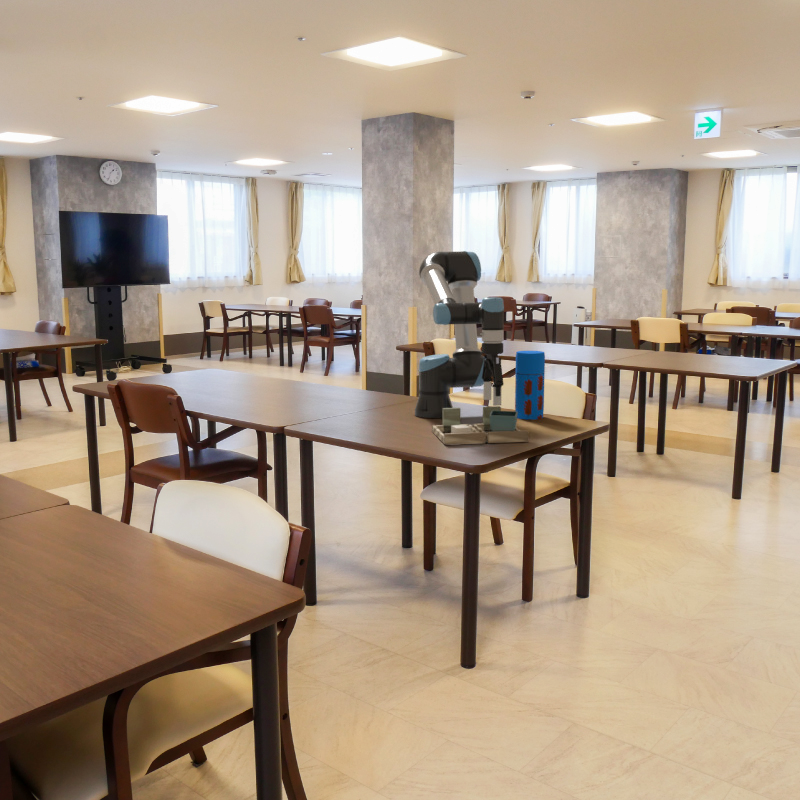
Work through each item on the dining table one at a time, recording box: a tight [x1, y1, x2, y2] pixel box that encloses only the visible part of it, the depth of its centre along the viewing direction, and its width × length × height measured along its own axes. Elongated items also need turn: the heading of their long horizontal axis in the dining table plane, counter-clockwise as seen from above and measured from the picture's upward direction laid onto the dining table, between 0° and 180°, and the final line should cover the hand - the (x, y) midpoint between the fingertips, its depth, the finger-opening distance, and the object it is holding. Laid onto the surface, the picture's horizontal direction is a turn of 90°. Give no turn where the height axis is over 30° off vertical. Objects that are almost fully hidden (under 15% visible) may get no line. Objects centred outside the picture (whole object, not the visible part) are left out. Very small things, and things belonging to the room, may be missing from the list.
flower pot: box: [490, 410, 518, 432], centre depth 278 cm, size 9×9×9 cm
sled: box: [431, 407, 487, 446], centre depth 281 cm, size 23×14×8 cm, turn 8°
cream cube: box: [450, 425, 471, 433], centre depth 277 cm, size 5×5×5 cm
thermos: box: [514, 350, 546, 421], centre depth 317 cm, size 11×11×25 cm
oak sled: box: [471, 405, 530, 444], centre depth 283 cm, size 23×14×8 cm, turn 8°
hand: (492, 402), depth 292 cm, fingers open, 13 cm apart
